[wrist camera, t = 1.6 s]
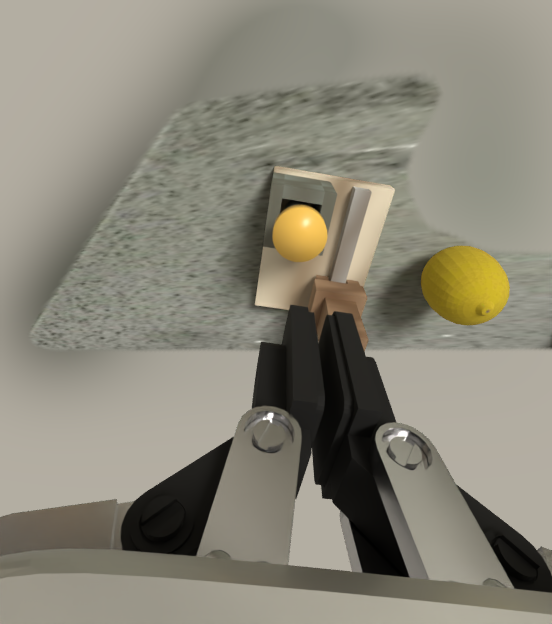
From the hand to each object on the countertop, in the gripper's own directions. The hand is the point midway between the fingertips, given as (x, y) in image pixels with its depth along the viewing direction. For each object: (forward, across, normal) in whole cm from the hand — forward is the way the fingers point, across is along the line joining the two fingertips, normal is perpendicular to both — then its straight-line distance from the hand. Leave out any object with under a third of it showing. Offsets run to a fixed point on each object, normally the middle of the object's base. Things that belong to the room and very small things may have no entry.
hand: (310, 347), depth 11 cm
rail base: (+19, -2, +4) cm, 20 cm away
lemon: (+19, -13, +3) cm, 24 cm away
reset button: (+16, 0, 0) cm, 16 cm away
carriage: (+17, -4, +7) cm, 19 cm away
